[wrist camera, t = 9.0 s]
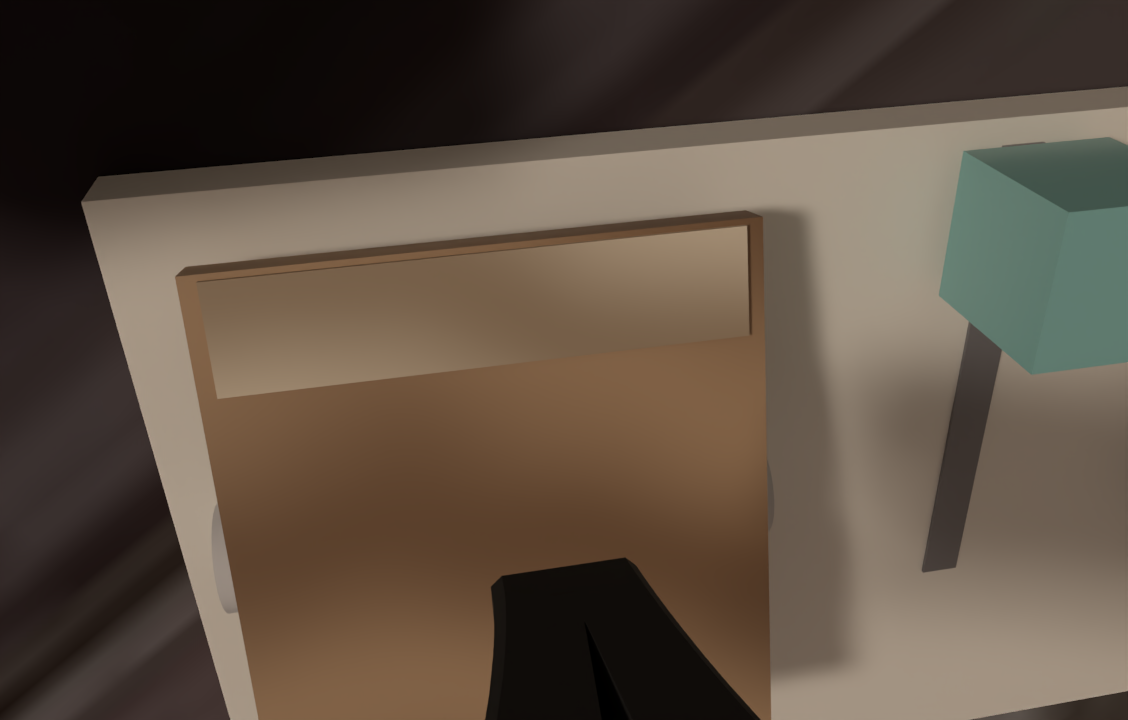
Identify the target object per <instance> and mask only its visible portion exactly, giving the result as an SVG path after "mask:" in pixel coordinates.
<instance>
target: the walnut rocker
mask: <svg viewBox="0 0 1128 720" xmlns="http://www.w3.org/2000/svg"><path fill="white" fill-rule="evenodd" d="M175 280H176V285H177V291H178V296H179V301H180V307H181V312H182V317H183V323H184V328H185V333H186V338H187V344H188V349H189V354H190V360H191V365H192V370H193V375H194V381H195V386H196V391H197V397H198V402H199V407H200V413H201V418H202V423H203V428H204V434H205V439H206V444H207V450H208V455H209V460H210V465H211V471H212V476H213V481H214V487H215V492H216V497H217V503H218V508H219V513H220V518H221V524H222V529H223V534H224V540H225V545H226V550H227V555H228V561H229V566H230V571H231V577H232V582H233V587H234V593H235V598H236V603H237V608H238V614H239V619H240V624H241V630H242V635H243V640H244V645H245V651H246V656H247V661H248V667H249V672H250V677H251V683H252V688H253V693H254V698H255V704H256V709H257V714H258V720H485V717H486V710H487V704H488V698H489V691H490V681H491V671H492V661H493V648H494V616H493V606H492V595H491V586H492V585H493V584H494V583H495V582H496V581H497V580H498V579H499V578H500V577H501V576H504V575H510V574H517V573H524V572H530V571H537V570H544V569H551V568H557V567H564V566H571V565H577V564H584V563H591V562H598V561H604V560H611V559H618V558H624V557H626V558H627V559H628V560H630V561H631V562H632V563H634V564H635V565H636V566H637V567H638V569H639V570H640V572H641V573H642V575H643V576H644V578H645V579H646V580H647V582H648V583H649V585H650V586H651V587H652V589H653V590H654V592H655V593H656V594H657V596H658V597H659V598H660V600H661V601H662V602H663V604H664V605H665V606H666V608H667V609H668V610H669V612H670V613H671V614H672V616H673V617H674V618H675V619H676V621H677V622H678V623H679V625H680V626H681V627H682V628H683V630H684V631H685V632H686V633H687V635H688V636H689V637H690V638H691V639H692V641H693V642H694V643H695V644H696V646H697V647H698V648H699V649H700V651H701V652H702V653H703V654H704V656H705V657H706V658H707V659H708V660H709V662H710V663H711V664H712V665H713V666H714V667H715V669H716V670H717V671H718V672H719V673H720V674H721V676H722V677H723V678H724V679H725V680H726V681H727V683H728V684H729V685H730V686H731V687H732V688H733V689H734V690H735V692H736V693H737V694H738V695H739V696H740V697H741V698H742V699H743V700H744V702H745V703H746V704H747V705H748V706H749V707H750V708H751V709H752V711H753V712H754V713H755V714H756V715H757V716H758V717H759V718H760V719H761V720H771V674H770V614H769V553H768V493H767V433H766V372H765V312H764V252H763V217H762V216H760V215H757V214H754V213H752V212H749V211H747V210H743V211H733V212H723V213H713V214H703V215H693V216H683V217H674V218H664V219H654V220H644V221H634V222H624V223H614V224H604V225H594V226H584V227H574V228H565V229H555V230H545V231H535V232H525V233H515V234H505V235H495V236H485V237H475V238H465V239H456V240H446V241H436V242H426V243H416V244H406V245H396V246H386V247H376V248H366V249H356V250H346V251H337V252H327V253H317V254H307V255H297V256H287V257H277V258H267V259H257V260H247V261H237V262H228V263H218V264H208V265H198V266H188V267H185V268H184V269H182V270H181V271H180V272H179V273H178V274H177V275H176V276H175Z"/></svg>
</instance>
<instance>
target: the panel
mask: <svg viewBox="0 0 1128 720" xmlns="http://www.w3.org/2000/svg"><path fill="white" fill-rule="evenodd" d="M1104 137H1110V138H1112V139H1115V140H1117V141H1119V142H1121V143H1124V144H1126V145H1128V87H1116V88H1105V89H1093V90H1082V91H1071V92H1059V93H1048V94H1036V95H1025V96H1014V97H1002V98H991V99H979V100H968V101H957V102H945V103H934V104H922V105H911V106H900V107H888V108H877V109H865V110H854V111H843V112H831V113H820V114H808V115H797V116H785V117H774V118H763V119H751V120H740V121H728V122H717V123H706V124H694V125H683V126H671V127H660V128H649V129H637V130H626V131H614V132H603V133H592V134H580V135H569V136H557V137H546V138H535V139H523V140H512V141H500V142H489V143H478V144H466V145H455V146H443V147H432V148H420V149H409V150H398V151H386V152H375V153H363V154H352V155H341V156H329V157H318V158H306V159H295V160H284V161H272V162H261V163H249V164H238V165H227V166H215V167H204V168H192V169H181V170H170V171H158V172H147V173H135V174H124V175H113V176H101V177H98V178H97V179H96V181H95V182H94V184H93V185H92V187H91V188H90V189H89V191H88V192H87V194H86V195H85V197H84V198H83V200H82V201H81V204H82V207H83V210H84V214H85V217H86V221H87V224H88V228H89V231H90V235H91V238H92V242H93V245H94V249H95V252H96V256H97V259H98V262H99V266H100V269H101V273H102V276H103V280H104V283H105V287H106V290H107V294H108V297H109V301H110V304H111V307H112V311H113V314H114V318H115V321H116V325H117V328H118V332H119V335H120V339H121V342H122V346H123V349H124V353H125V356H126V359H127V363H128V366H129V370H130V373H131V377H132V380H133V384H134V387H135V391H136V394H137V398H138V401H139V404H140V408H141V411H142V415H143V418H144V422H145V425H146V429H147V432H148V436H149V439H150V443H151V446H152V450H153V453H154V456H155V460H156V463H157V467H158V470H159V474H160V477H161V481H162V484H163V488H164V491H165V495H166V498H167V501H168V505H169V508H170V512H171V515H172V519H173V522H174V526H175V529H176V533H177V536H178V540H179V543H180V547H181V550H182V553H183V557H184V560H185V564H186V567H187V571H188V574H189V578H190V581H191V585H192V588H193V592H194V595H195V599H196V602H197V605H198V609H199V612H200V616H201V619H202V623H203V626H204V630H205V633H206V637H207V640H208V644H209V647H210V650H211V654H212V657H213V661H214V664H215V668H216V671H217V675H218V678H219V682H220V685H221V689H222V692H223V696H224V699H225V702H226V706H227V709H228V713H229V716H230V720H258V714H257V709H256V704H255V698H254V693H253V688H252V683H251V677H250V672H249V667H248V661H247V656H246V651H245V645H244V640H243V635H242V630H241V624H240V619H239V614H238V608H237V603H236V598H235V593H234V587H233V582H232V577H231V571H230V566H229V561H228V555H227V550H226V545H225V540H224V534H223V529H222V524H221V518H220V513H219V508H218V503H217V497H216V492H215V487H214V481H213V476H212V471H211V465H210V460H209V455H208V450H207V444H206V439H205V434H204V428H203V423H202V418H201V413H200V407H199V402H198V397H197V391H196V386H195V381H194V375H193V370H192V365H191V360H190V354H189V349H188V344H187V338H186V333H185V328H184V323H183V317H182V312H181V307H180V301H179V296H178V291H177V285H176V280H175V276H176V275H177V274H178V273H179V272H180V271H181V270H182V269H184V268H185V267H188V266H198V265H208V264H218V263H228V262H237V261H247V260H257V259H267V258H277V257H287V256H297V255H307V254H317V253H327V252H337V251H346V250H356V249H366V248H376V247H386V246H396V245H406V244H416V243H426V242H436V241H446V240H456V239H465V238H475V237H485V236H495V235H505V234H515V233H525V232H535V231H545V230H555V229H565V228H574V227H584V226H594V225H604V224H614V223H624V222H634V221H644V220H654V219H664V218H674V217H683V216H693V215H703V214H713V213H723V212H733V211H743V210H747V211H749V212H752V213H754V214H757V215H760V216H762V217H763V252H764V312H765V372H766V433H767V493H768V553H769V614H770V674H771V720H970V719H976V718H981V717H987V716H992V715H998V714H1003V713H1009V712H1014V711H1020V710H1025V709H1031V708H1036V707H1042V706H1047V705H1053V704H1058V703H1064V702H1069V701H1075V700H1080V699H1086V698H1091V697H1097V696H1102V695H1108V694H1113V693H1119V692H1124V691H1128V362H1126V363H1118V364H1110V365H1103V366H1095V367H1087V368H1080V369H1072V370H1064V371H1057V372H1049V373H1041V374H1034V375H1031V374H1030V373H1029V372H1027V371H1026V370H1025V369H1024V368H1023V367H1022V366H1020V365H1019V364H1018V363H1017V362H1016V361H1015V360H1013V359H1012V358H1011V357H1010V356H1009V355H1008V354H1006V353H1005V352H1004V351H1003V350H1002V349H1001V348H999V347H998V346H997V345H996V344H995V343H994V342H992V341H991V340H990V339H989V338H988V337H986V336H985V335H984V334H983V333H982V332H981V331H979V330H978V329H977V328H976V327H975V326H974V325H972V324H971V323H970V322H969V321H968V320H967V319H965V318H964V317H963V316H962V315H961V314H960V313H958V312H957V311H956V310H955V309H954V308H953V307H951V306H950V305H949V304H948V303H947V302H946V301H944V300H943V299H942V298H941V297H940V296H939V291H940V285H941V279H942V273H943V267H944V261H945V255H946V249H947V244H948V238H949V232H950V226H951V220H952V214H953V208H954V203H955V197H956V191H957V185H958V179H959V173H960V167H961V162H962V156H963V151H968V150H978V149H989V148H999V147H1010V146H1020V145H1031V144H1041V143H1052V142H1062V141H1073V140H1083V139H1094V138H1104Z"/></svg>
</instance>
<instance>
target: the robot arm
mask: <svg viewBox="0 0 1128 720" xmlns="http://www.w3.org/2000/svg"><path fill="white" fill-rule="evenodd" d="M491 595H492V606H493V616H494V648H493V661H492V671H491V681H490V691H489V698H488V704H487V710H486V717H485V720H761V719H760V718H759V717H758V716H757V715H756V714H755V713H754V712H753V711H752V709H751V708H750V707H749V706H748V705H747V704H746V703H745V702H744V700H743V699H742V698H741V697H740V696H739V695H738V694H737V693H736V692H735V690H734V689H733V688H732V687H731V686H730V685H729V684H728V683H727V681H726V680H725V679H724V678H723V677H722V676H721V674H720V673H719V672H718V671H717V670H716V669H715V667H714V666H713V665H712V664H711V663H710V662H709V660H708V659H707V658H706V657H705V656H704V654H703V653H702V652H701V651H700V649H699V648H698V647H697V646H696V644H695V643H694V642H693V641H692V639H691V638H690V637H689V636H688V635H687V633H686V632H685V631H684V630H683V628H682V627H681V626H680V625H679V623H678V622H677V621H676V619H675V618H674V617H673V616H672V614H671V613H670V612H669V610H668V609H667V608H666V606H665V605H664V604H663V602H662V601H661V600H660V598H659V597H658V596H657V594H656V593H655V592H654V590H653V589H652V587H651V586H650V585H649V583H648V582H647V580H646V579H645V578H644V576H643V575H642V573H641V572H640V570H639V569H638V567H637V566H636V565H635V564H634V563H632V562H631V561H630V560H628V559H627V558H626V557H624V558H618V559H611V560H604V561H598V562H591V563H584V564H577V565H571V566H564V567H557V568H551V569H544V570H537V571H530V572H524V573H517V574H510V575H504V576H501V577H500V578H499V579H498V580H497V581H496V582H495V583H494V584H493V585H492V586H491Z"/></svg>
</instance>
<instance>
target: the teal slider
mask: <svg viewBox="0 0 1128 720" xmlns="http://www.w3.org/2000/svg"><path fill="white" fill-rule="evenodd" d="M939 296H940V297H941V298H942V299H943V300H944V301H946V302H947V303H948V304H949V305H950V306H951V307H953V308H954V309H955V310H956V311H957V312H958V313H960V314H961V315H962V316H963V317H964V318H965V319H967V320H968V321H969V322H970V323H971V324H972V325H974V326H975V327H976V328H977V329H978V330H979V331H981V332H982V333H983V334H984V335H985V336H986V337H988V338H989V339H990V340H991V341H992V342H994V343H995V344H996V345H997V346H998V347H999V348H1001V349H1002V350H1003V351H1004V352H1005V353H1006V354H1008V355H1009V356H1010V357H1011V358H1012V359H1013V360H1015V361H1016V362H1017V363H1018V364H1019V365H1020V366H1022V367H1023V368H1024V369H1025V370H1026V371H1027V372H1029V373H1030V374H1031V375H1034V374H1041V373H1049V372H1057V371H1064V370H1072V369H1080V368H1087V367H1095V366H1103V365H1110V364H1118V363H1126V362H1128V145H1126V144H1124V143H1121V142H1119V141H1117V140H1115V139H1112V138H1110V137H1104V138H1094V139H1083V140H1073V141H1062V142H1052V143H1041V144H1031V145H1020V146H1010V147H999V148H989V149H978V150H968V151H963V156H962V162H961V167H960V173H959V179H958V185H957V191H956V197H955V203H954V208H953V214H952V220H951V226H950V232H949V238H948V244H947V249H946V255H945V261H944V267H943V273H942V279H941V285H940V291H939Z"/></svg>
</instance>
